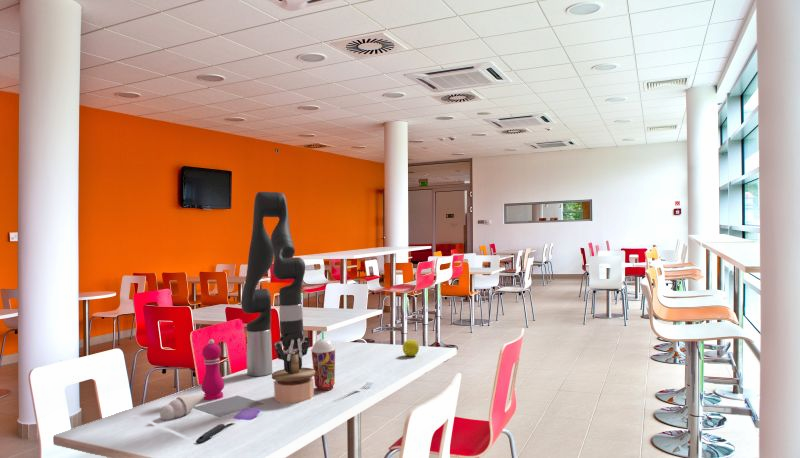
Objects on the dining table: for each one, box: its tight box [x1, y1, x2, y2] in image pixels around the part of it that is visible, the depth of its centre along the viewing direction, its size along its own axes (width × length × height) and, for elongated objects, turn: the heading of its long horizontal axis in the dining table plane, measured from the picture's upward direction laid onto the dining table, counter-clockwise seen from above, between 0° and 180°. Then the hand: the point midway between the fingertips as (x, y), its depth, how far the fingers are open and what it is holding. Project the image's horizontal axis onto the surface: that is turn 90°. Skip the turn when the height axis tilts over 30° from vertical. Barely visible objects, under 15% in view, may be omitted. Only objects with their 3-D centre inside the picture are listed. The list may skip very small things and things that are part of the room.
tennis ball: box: [402, 339, 420, 357], centre depth 246 cm, size 7×7×7 cm
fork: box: [331, 381, 374, 403], centre depth 189 cm, size 3×24×2 cm, turn 147°
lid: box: [271, 352, 315, 381], centre depth 187 cm, size 14×14×7 cm
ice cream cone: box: [159, 395, 206, 421], centre depth 174 cm, size 6×6×15 cm
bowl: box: [273, 377, 315, 404], centre depth 187 cm, size 12×12×6 cm
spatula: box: [195, 408, 261, 445], centre depth 160 cm, size 24×7×2 cm, turn 158°
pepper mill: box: [201, 338, 225, 401], centre depth 191 cm, size 7×7×20 cm
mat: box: [193, 395, 266, 418], centre depth 181 cm, size 16×16×1 cm
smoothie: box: [311, 330, 336, 392], centre depth 199 cm, size 8×8×20 cm
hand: (293, 370), depth 188 cm, fingers closed on lid, 3 cm apart
